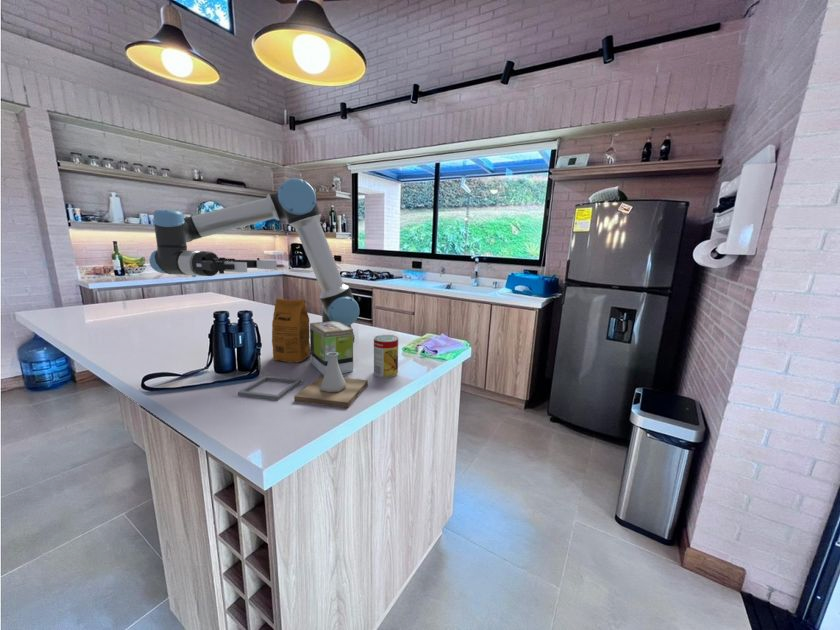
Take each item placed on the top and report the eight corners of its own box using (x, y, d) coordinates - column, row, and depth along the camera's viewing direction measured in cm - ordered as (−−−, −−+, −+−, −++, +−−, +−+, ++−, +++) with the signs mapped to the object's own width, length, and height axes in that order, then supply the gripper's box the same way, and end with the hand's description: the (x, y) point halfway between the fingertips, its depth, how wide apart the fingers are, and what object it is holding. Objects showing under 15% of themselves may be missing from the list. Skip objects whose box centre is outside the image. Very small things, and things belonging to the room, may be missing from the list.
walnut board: (321, 379, 102) (321, 375, 101) (367, 384, 99) (367, 380, 99) (294, 401, 87) (294, 396, 87) (347, 407, 85) (347, 402, 84)
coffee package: (284, 352, 126) (281, 295, 122) (314, 355, 124) (312, 297, 119) (267, 361, 117) (263, 299, 112) (299, 364, 114) (296, 301, 110)
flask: (315, 391, 90) (314, 356, 88) (326, 381, 97) (325, 348, 95) (340, 394, 89) (340, 358, 87) (350, 383, 96) (349, 350, 94)
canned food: (402, 372, 110) (403, 337, 107) (387, 379, 103) (387, 342, 101) (384, 367, 114) (384, 333, 112) (368, 373, 108) (368, 338, 105)
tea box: (354, 371, 109) (354, 328, 106) (324, 377, 104) (323, 332, 101) (337, 358, 121) (336, 319, 118) (310, 363, 116) (308, 322, 113)
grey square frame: (266, 378, 101) (265, 375, 101) (301, 382, 99) (301, 379, 99) (238, 395, 90) (237, 392, 90) (277, 400, 88) (277, 396, 87)
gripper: (231, 272, 115) (286, 275, 111) (164, 279, 91) (232, 282, 87) (229, 250, 114) (285, 252, 110) (161, 251, 90) (229, 253, 86)
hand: (262, 266), depth 99 cm, fingers open, 13 cm apart
